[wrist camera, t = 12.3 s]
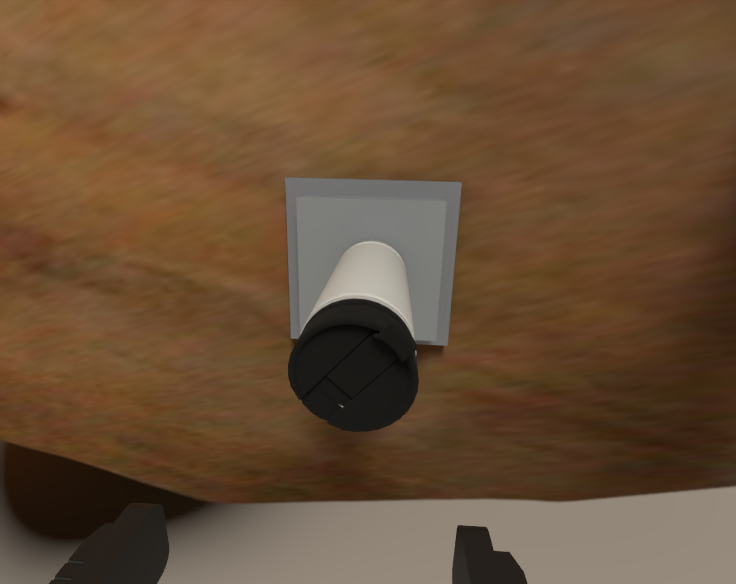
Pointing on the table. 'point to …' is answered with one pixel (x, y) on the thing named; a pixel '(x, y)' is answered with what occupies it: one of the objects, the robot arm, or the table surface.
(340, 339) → the travel mug
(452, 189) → the slate plinth
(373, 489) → the table surface
